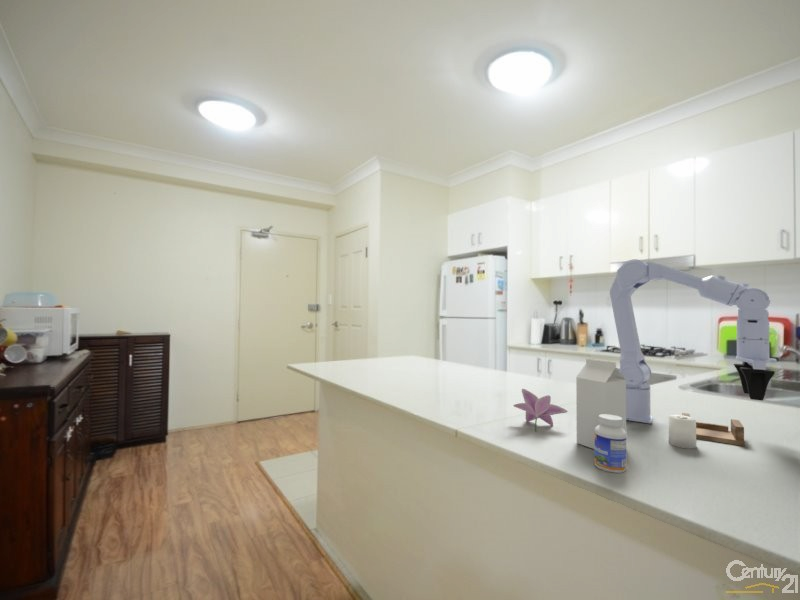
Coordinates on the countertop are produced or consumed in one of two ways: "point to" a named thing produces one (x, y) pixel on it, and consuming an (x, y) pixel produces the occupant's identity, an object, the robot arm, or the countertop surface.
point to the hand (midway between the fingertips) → (753, 396)
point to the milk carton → (598, 397)
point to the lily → (538, 407)
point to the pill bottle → (610, 444)
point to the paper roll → (682, 431)
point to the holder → (720, 432)
